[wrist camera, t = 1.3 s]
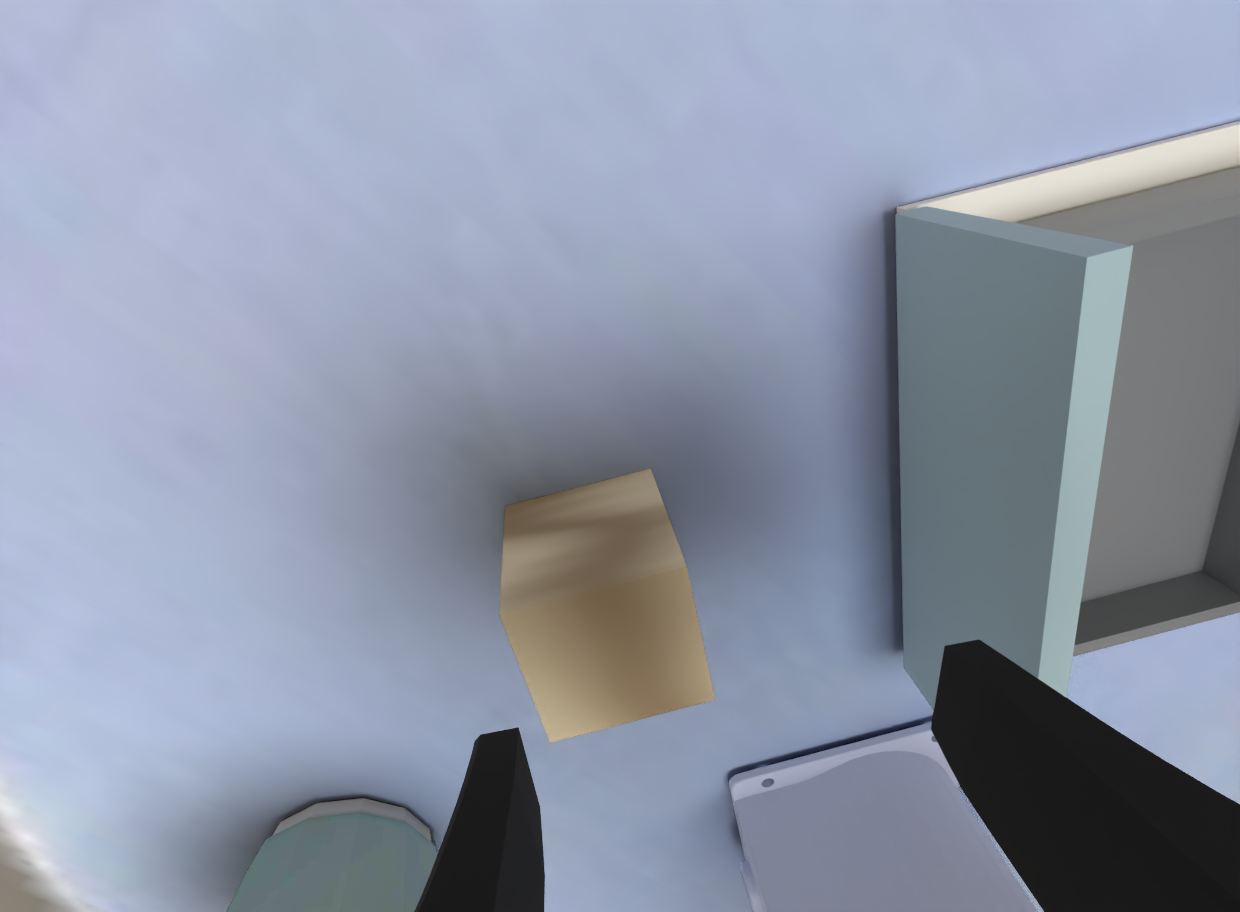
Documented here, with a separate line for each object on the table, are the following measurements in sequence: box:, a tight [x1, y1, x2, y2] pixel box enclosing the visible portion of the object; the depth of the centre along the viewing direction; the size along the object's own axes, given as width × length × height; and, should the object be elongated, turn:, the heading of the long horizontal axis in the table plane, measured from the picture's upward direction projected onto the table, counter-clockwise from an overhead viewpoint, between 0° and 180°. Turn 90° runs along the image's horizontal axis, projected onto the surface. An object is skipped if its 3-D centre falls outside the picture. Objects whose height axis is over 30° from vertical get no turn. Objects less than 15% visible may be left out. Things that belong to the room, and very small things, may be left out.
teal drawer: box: [895, 167, 1240, 710], centre depth 17 cm, size 11×16×6 cm
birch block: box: [499, 469, 715, 743], centre depth 18 cm, size 4×4×5 cm
